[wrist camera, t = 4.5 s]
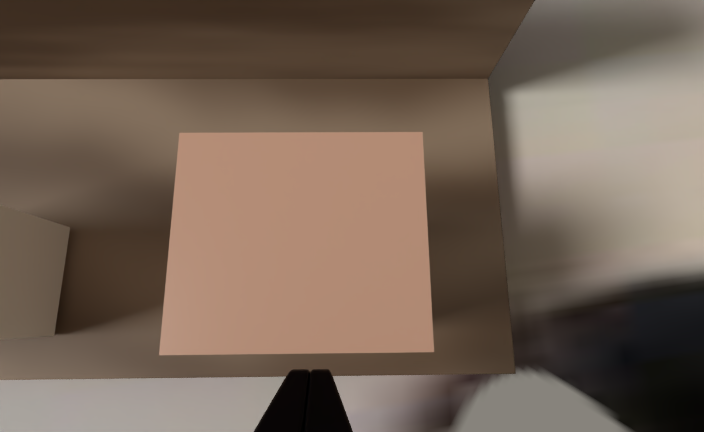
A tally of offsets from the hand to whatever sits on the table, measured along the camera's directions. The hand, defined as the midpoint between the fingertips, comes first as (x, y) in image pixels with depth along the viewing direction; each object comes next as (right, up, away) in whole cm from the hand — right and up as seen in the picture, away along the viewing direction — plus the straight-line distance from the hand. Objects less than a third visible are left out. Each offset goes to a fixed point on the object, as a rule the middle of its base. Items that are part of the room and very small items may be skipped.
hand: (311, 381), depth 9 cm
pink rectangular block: (0, +1, +7) cm, 7 cm away
